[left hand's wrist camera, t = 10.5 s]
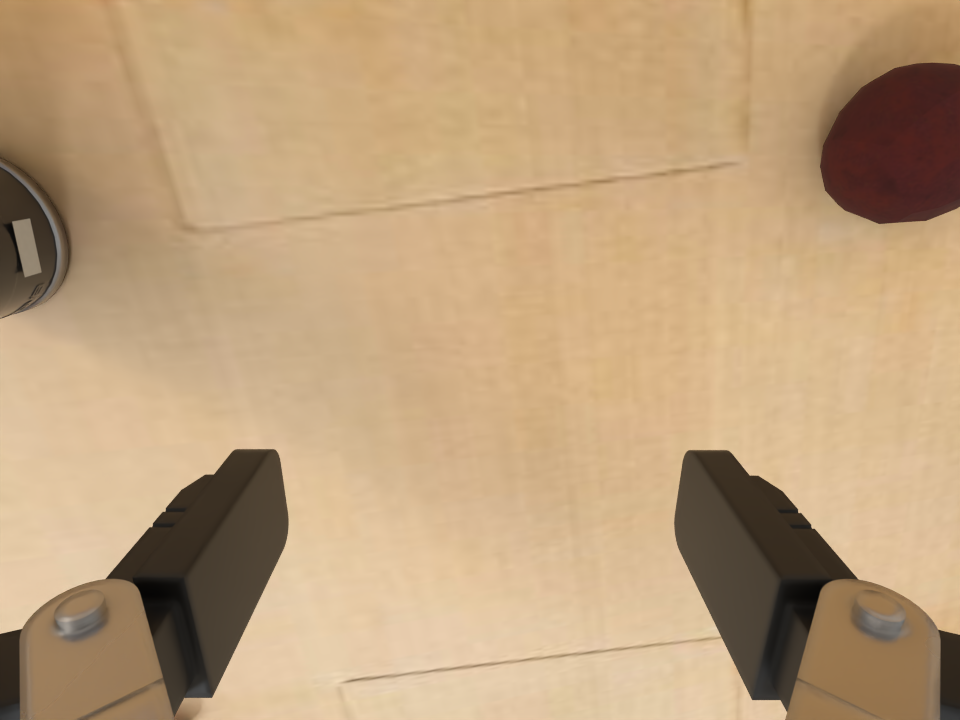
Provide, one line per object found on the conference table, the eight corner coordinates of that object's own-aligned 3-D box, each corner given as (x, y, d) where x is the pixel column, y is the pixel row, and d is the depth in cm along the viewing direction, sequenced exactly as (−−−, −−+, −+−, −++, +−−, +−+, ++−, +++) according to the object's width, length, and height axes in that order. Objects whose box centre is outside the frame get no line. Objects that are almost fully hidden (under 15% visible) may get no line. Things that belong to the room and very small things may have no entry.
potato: (957, 159, 32) (1083, 164, 25) (826, 241, 33) (911, 266, 27) (909, 36, 29) (1032, 6, 23) (771, 131, 31) (849, 128, 24)
